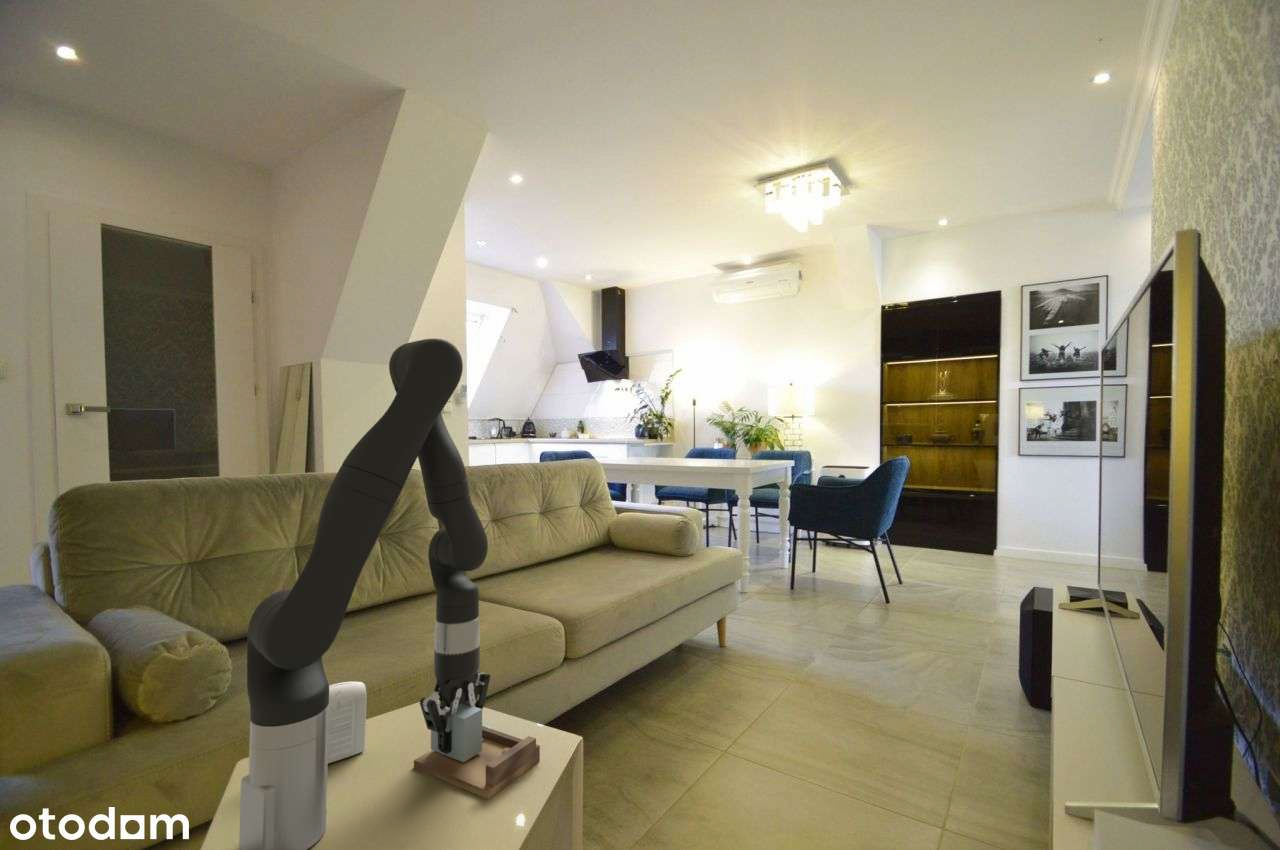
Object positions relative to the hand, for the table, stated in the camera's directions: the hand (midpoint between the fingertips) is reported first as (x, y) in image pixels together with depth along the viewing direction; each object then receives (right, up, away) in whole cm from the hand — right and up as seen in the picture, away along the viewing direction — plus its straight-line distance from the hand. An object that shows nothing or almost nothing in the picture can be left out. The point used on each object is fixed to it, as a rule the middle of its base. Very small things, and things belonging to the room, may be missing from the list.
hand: (456, 744), depth 96 cm
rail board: (+4, -2, -1) cm, 5 cm away
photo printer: (-21, -3, +1) cm, 22 cm away
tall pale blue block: (0, -1, 0) cm, 1 cm away
